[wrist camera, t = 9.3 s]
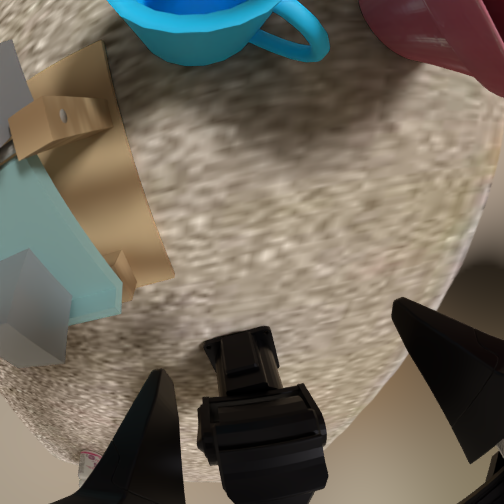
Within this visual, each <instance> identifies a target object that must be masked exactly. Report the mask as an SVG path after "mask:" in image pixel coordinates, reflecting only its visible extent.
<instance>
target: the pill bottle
mask: <svg viewBox="0 0 504 504" xmlns="http://www.w3.org/2000/svg"><path fill="white" fill-rule="evenodd" d="M101 458H102V456H101V455H100V454H98V453H96V452H93V451H90V450H82V451H81V455H80V462H79V470H78V477H79V479H81V480H80V481H79V487H81V486H82V485H83V484H84V482H85V481H86V479H87V478H88V476H89V475H90V474H91V472H92V471H93V469H94V468H95V467H96V465H97V464H98V462H99V461H100V459H101Z"/></svg>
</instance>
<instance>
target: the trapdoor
mask: <svg viewBox="0 0 504 504" xmlns="http://www.w3.org/2000/svg"><path fill="white" fill-rule="evenodd" d="M33 101H34V99H33V97H32V95H31V92H30V90H29V87H28V84H27V82H26V79H25V77H24V74H23V71H22V68H21V65H20V63H19V60H18V57H17V53H16V50H15V47H14V44H13V41H12V40H8V41H5V42H2V43H0V148H1V147H2V146H3V144H4V143H5V142H6V141H7V140H8V139H9V138H10V137H11V136H12V135H11V131H10V127H9V122H8V118H10V117H11V116H12V115H14V114H15V113H16V112H18V111H19V110H21V109H22V108H24V107H25V106H27V105H28V104H30V103H31V102H33ZM28 248H30V250H31V251H32V252H33V253H34V254H35V256H36V257H37V258H38V259H39V260H40V261H41V263H42V264H43V265H44V266H45V267H46V268H47V269H48V270H49V272H50V273H51V274H52V275H53V276H54V277H55V278H56V279H57V280H58V281H59V282H60V283H61V285H62V286H63V287H64V288H65V289H66V290H67V291H68V292H69V293H70V294H71V295H72V301H71V308H70V315H69V323H68V326H69V325H74V324H78V323H83V322H87V321H92V320H96V319H101V318H105V317H109V316H114V315H118V314H121V305H122V285H123V282H122V281H121V280H120V279H119V277H118V276H117V275H116V274H115V272H114V271H113V270H112V269H111V267H110V266H109V265H108V263H107V262H106V261H105V259H104V258H103V257H102V255H101V254H100V253H99V251H98V250H97V249H96V247H95V246H94V244H93V243H92V242H91V240H90V239H89V237H88V236H87V235H86V233H85V232H84V230H83V229H82V227H81V226H80V224H79V223H78V221H77V220H76V218H75V217H74V215H73V214H72V212H71V211H70V209H69V208H68V206H67V205H66V203H65V201H64V200H63V198H62V197H61V195H60V193H59V192H58V190H57V189H56V187H55V185H54V183H53V182H52V180H51V178H50V177H49V175H48V173H47V171H46V170H45V168H44V166H43V164H42V163H41V161H40V159H39V157H38V155H37V154H36V155H33V156H31V157H28V158H26V159H23V160H21V161H19V160H18V157H17V155H16V156H14V157H13V158H11V159H10V160H8V161H7V162H6V163H4V164H3V165H1V166H0V261H1V260H3V259H6V258H8V257H10V256H12V255H14V254H16V253H19V252H21V251H23V250H25V249H28Z"/></svg>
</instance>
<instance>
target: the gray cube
mask: <svg viewBox="0 0 504 504" xmlns="http://www.w3.org/2000/svg"><path fill="white" fill-rule="evenodd" d="M71 301H72V295H71V294H70V293H69V292H68V291H67V290H66V289H65V288H64V287H63V286H62V285H61V283H60V282H59V281H58V280H57V279H56V278H55V277H54V276H53V275H52V274H51V273H50V272H49V270H48V269H47V268H46V267H45V266H44V265H43V264H42V263H41V261H40V260H39V259H38V258H37V257H36V256H35V254H34V253H33V252H32V251H31V250H30V248H28V249H25V250H23V251H21V252H19V253H16V254H14V255H12V256H10V257H8V258H6V259H3V260H1V261H0V357H1V358H2V359H4V360H6V361H7V362H9V363H10V364H12V365H14V366H15V367H17V368H25V367H37V366H47V365H56V364H65V355H66V343H67V332H68V323H69V315H70V308H71Z"/></svg>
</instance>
